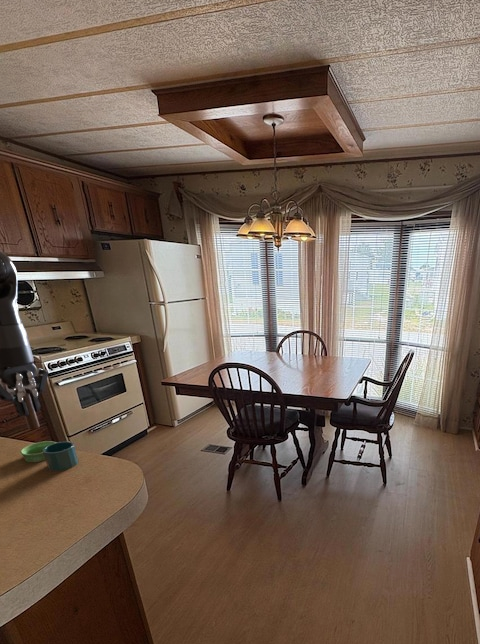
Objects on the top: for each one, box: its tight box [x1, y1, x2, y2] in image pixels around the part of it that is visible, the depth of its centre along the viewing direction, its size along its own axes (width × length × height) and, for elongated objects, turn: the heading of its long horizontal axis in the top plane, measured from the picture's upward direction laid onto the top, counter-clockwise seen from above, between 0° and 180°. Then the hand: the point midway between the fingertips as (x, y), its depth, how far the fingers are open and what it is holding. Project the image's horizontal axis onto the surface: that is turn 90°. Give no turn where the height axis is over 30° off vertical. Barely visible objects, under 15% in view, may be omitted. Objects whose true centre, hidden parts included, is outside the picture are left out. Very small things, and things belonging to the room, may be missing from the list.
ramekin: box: [20, 440, 57, 463], centre depth 107 cm, size 9×9×4 cm
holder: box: [42, 441, 80, 472], centre depth 102 cm, size 7×7×8 cm
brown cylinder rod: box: [22, 392, 41, 430], centre depth 85 cm, size 2×2×9 cm
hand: (29, 412), depth 85 cm, fingers closed on brown cylinder rod, 2 cm apart
